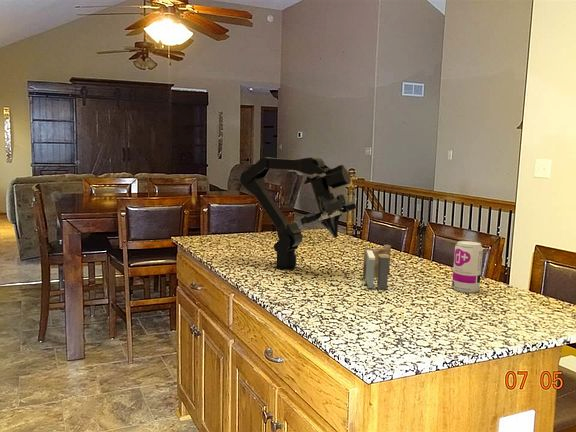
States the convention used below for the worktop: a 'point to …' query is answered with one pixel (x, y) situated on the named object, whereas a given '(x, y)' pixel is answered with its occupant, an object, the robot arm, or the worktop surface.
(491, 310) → the worktop surface
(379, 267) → the stile
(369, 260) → the cream flat slab
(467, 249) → the supplement can
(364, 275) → the fence
